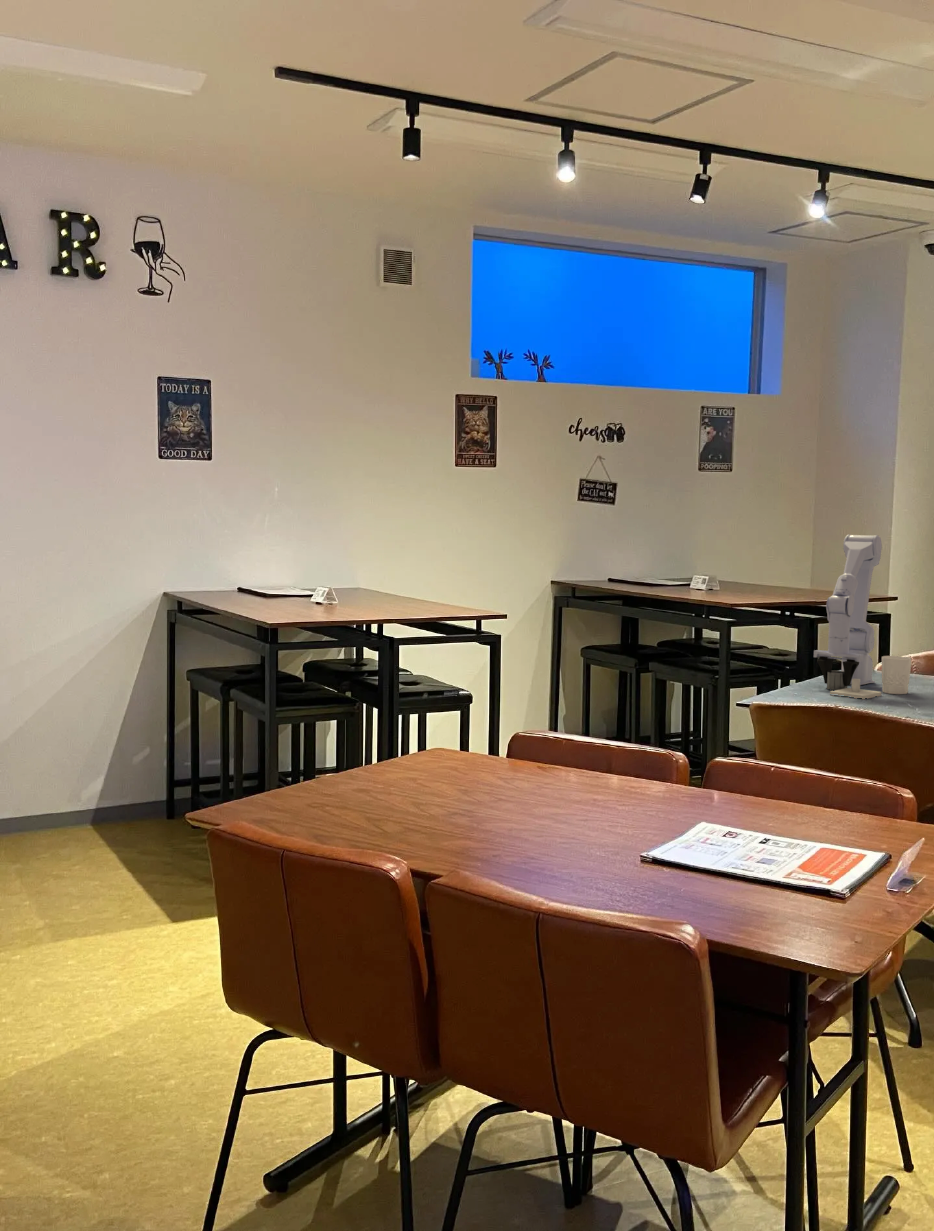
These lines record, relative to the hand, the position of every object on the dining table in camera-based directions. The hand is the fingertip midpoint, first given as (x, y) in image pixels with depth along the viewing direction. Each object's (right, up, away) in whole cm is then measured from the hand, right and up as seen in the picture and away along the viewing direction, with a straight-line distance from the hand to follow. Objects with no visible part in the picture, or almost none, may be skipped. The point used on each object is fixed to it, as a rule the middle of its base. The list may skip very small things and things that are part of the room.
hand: (837, 684), depth 343 cm
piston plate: (+2, -2, -10) cm, 11 cm away
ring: (0, -1, 0) cm, 1 cm away
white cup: (+15, -2, -5) cm, 16 cm away
